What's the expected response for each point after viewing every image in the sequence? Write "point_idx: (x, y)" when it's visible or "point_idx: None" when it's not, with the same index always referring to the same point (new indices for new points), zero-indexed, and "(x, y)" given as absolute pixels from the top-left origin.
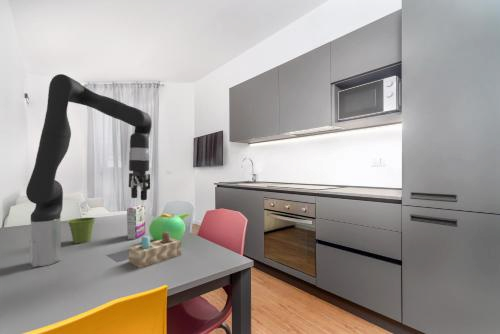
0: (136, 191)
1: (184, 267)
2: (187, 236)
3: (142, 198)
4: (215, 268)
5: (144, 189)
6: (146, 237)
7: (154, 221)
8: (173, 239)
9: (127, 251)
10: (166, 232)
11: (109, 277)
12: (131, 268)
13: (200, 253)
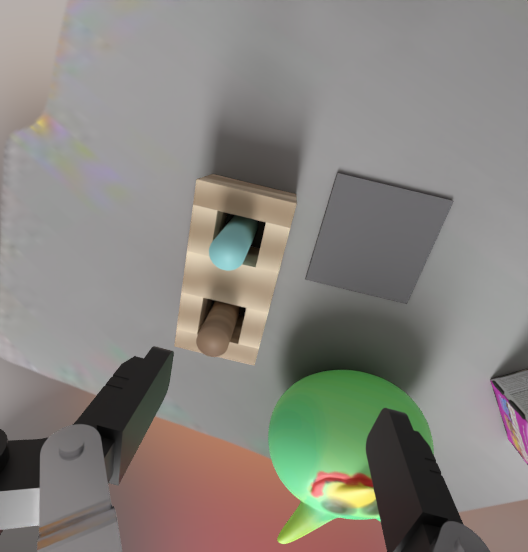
0: (385, 513)
1: (100, 247)
2: None
3: (144, 361)
4: (24, 279)
5: (9, 441)
6: (219, 251)
7: None
8: None
9: (398, 266)
10: (207, 342)
11: (241, 65)
12: (242, 161)
13: None
